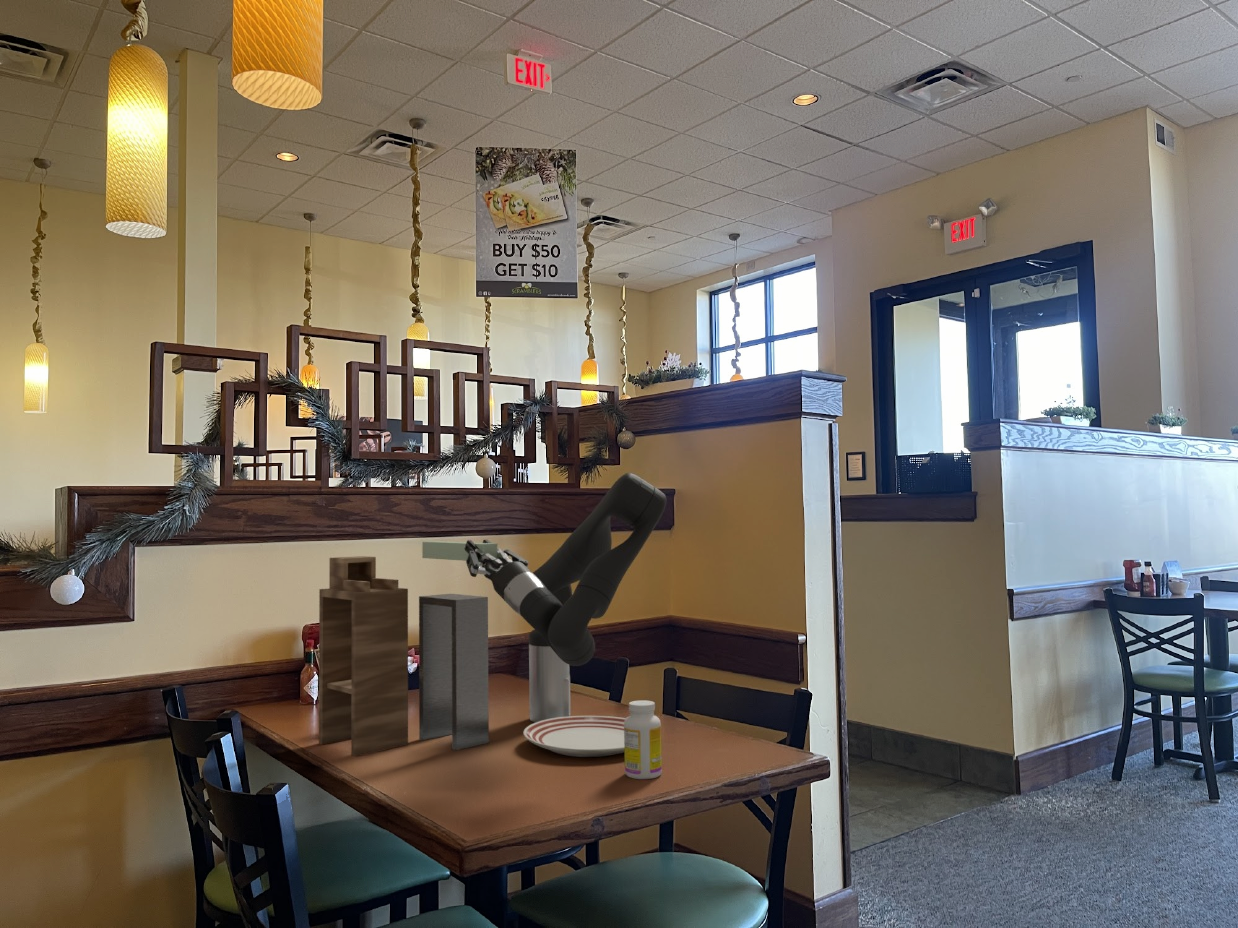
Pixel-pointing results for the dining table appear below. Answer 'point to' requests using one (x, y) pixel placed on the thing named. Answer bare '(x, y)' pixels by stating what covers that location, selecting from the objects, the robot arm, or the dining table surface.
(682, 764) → the dining table surface
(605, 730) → the dinner plate
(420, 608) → the side stand
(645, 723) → the supplement bottle
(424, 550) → the bar
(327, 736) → the tunnel stand
